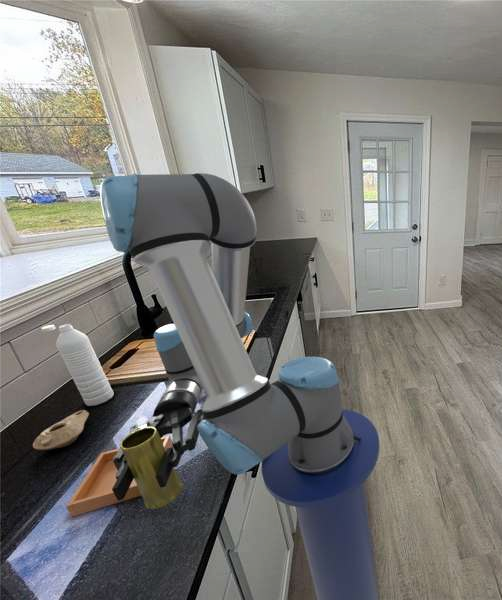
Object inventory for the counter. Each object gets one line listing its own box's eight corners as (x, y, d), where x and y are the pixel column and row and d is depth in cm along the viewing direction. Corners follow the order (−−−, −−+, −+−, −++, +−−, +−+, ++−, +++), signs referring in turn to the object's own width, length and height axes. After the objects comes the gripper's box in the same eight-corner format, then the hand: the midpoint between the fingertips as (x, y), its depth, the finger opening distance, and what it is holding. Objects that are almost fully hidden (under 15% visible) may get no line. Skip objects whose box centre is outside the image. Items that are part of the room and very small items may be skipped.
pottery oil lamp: (106, 415, 87) (99, 402, 83) (72, 460, 78) (63, 448, 74) (68, 411, 85) (60, 397, 81) (30, 456, 76) (17, 443, 72)
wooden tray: (173, 444, 77) (169, 435, 76) (154, 491, 65) (149, 481, 64) (105, 462, 73) (100, 452, 72) (71, 516, 61) (65, 506, 60)
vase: (190, 482, 62) (167, 426, 57) (163, 512, 57) (135, 453, 52) (165, 478, 64) (141, 422, 59) (136, 507, 58) (106, 448, 53)
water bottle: (119, 391, 98) (86, 319, 89) (103, 405, 92) (66, 329, 83) (89, 394, 97) (53, 322, 88) (71, 408, 91) (31, 332, 82)
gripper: (225, 406, 77) (206, 484, 57) (137, 428, 72) (80, 524, 51) (217, 380, 75) (195, 453, 54) (125, 401, 69) (60, 491, 49)
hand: (139, 487), depth 53 cm, fingers closed on vase, 5 cm apart
